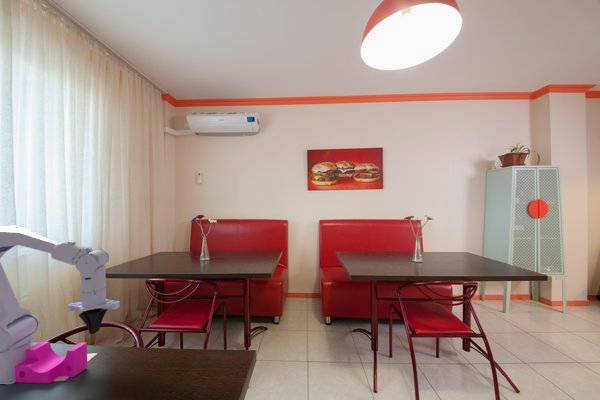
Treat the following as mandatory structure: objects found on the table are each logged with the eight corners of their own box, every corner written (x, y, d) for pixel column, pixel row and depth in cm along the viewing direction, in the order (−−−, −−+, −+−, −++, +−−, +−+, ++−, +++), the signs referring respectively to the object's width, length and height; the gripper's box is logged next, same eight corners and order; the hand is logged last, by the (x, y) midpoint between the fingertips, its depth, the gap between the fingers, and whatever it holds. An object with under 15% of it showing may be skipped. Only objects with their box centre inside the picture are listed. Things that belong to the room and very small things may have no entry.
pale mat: (37, 382, 64) (37, 381, 64) (74, 355, 75) (74, 354, 75) (65, 380, 64) (65, 379, 64) (97, 354, 75) (97, 353, 75)
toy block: (15, 382, 64) (14, 355, 64) (42, 365, 70) (41, 341, 70) (64, 383, 63) (64, 356, 63) (87, 367, 69) (86, 342, 69)
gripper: (56, 295, 67) (57, 340, 67) (107, 293, 68) (107, 338, 68) (79, 286, 74) (80, 327, 74) (124, 284, 75) (125, 325, 75)
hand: (94, 332), depth 72 cm, fingers closed
